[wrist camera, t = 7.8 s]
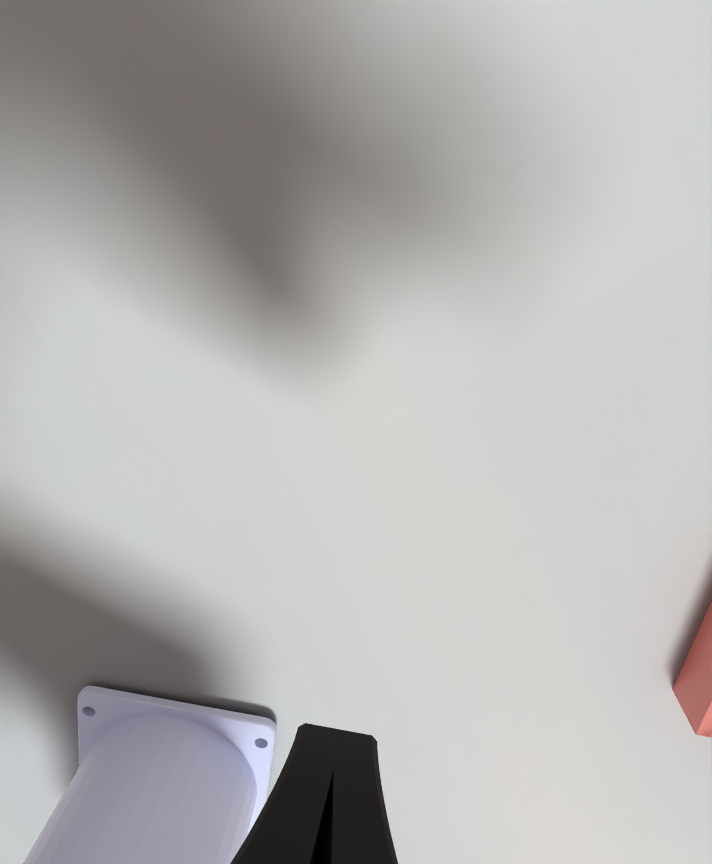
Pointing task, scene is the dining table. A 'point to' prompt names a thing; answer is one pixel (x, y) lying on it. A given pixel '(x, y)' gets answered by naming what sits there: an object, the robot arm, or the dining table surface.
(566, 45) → the dining table surface
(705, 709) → the tray
